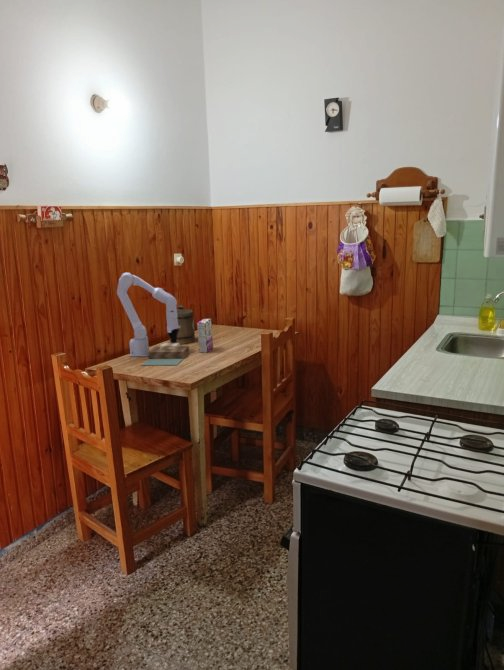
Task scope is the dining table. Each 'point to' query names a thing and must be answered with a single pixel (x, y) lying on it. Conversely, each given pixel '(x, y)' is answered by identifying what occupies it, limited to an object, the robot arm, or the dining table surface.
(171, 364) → the rubber mat
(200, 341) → the candy bar box
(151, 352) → the walnut board
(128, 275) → the robot arm
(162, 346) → the birch tile
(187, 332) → the wooden container
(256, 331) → the dining table surface
